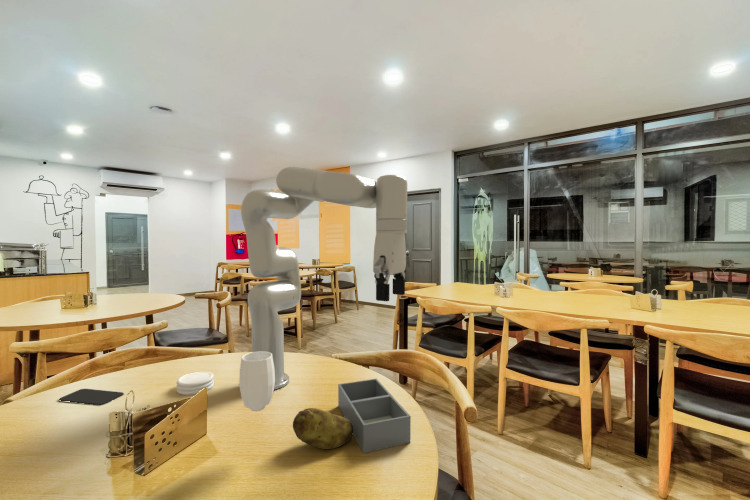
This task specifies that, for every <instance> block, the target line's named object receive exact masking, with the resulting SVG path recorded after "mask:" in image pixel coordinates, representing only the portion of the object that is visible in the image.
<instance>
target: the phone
mask: <svg viewBox="0 0 750 500" xmlns="http://www.w3.org/2000/svg"><path fill="white" fill-rule="evenodd" d="M124 395H125V393H124V392H122V391H113V390H112V391H111V390H103V389H93V388H91V389H90V388H81V389H78V390H75V391H73V392H71V393H69V394H66V395H64V396H61V397H60V398H58V401H59V400H61V401H70V402H77V403H76V404H79V403H84V404H83V405H90V404H93V405H92V406H104V405H106V404H109V403H111V402H113V401H115V400H116V399H118V398H120V397H122V396H124ZM112 400H113V401H112Z"/></svg>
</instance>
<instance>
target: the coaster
mask: <svg viewBox="0 0 750 500" xmlns="http://www.w3.org/2000/svg"><path fill="white" fill-rule="evenodd" d="M214 377H215V376H214V373H212V372H210V371H195V372H190V373H187V374H184V375H181V376H180V377H179V378H178V379H177V380H176V393H178V394H180V395H183V396H192V395H197V394H196V393H198V392H199V391H200V390H202V389H203V388H206V387H207V388H208V390H207V391H209V390H211V389H212V388H213V387H214V386H215V385H214V384H215V382H214Z"/></svg>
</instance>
